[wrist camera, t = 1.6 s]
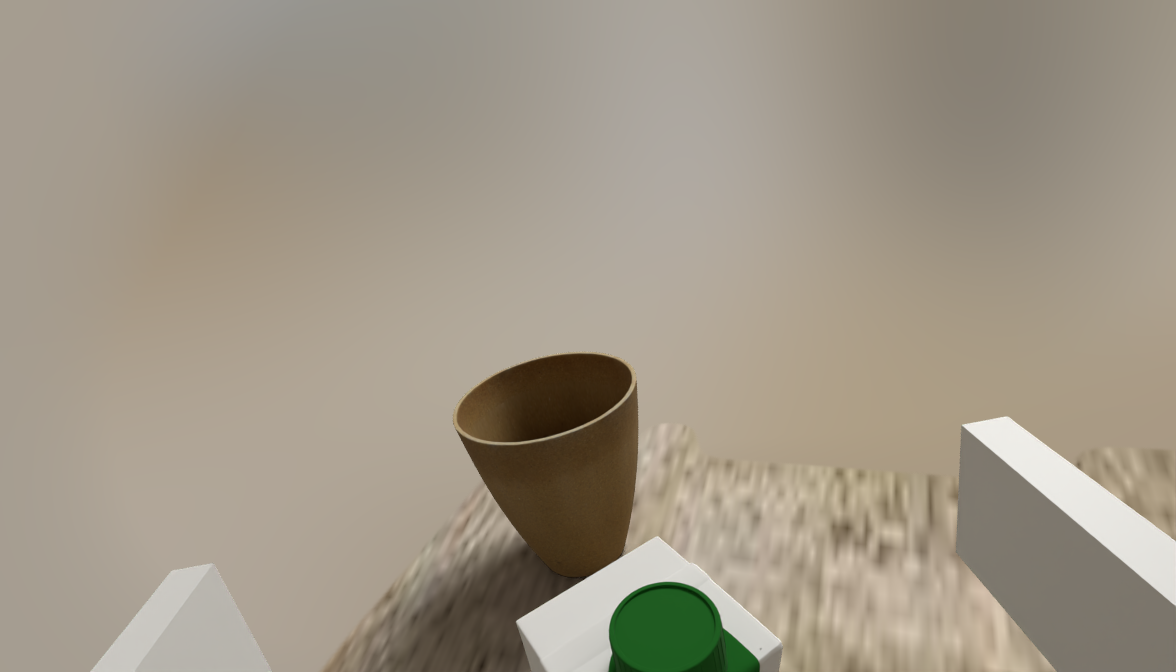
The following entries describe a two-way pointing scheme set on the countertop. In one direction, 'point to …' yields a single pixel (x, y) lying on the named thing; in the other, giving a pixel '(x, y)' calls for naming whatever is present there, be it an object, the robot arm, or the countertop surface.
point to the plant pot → (559, 453)
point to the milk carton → (647, 622)
